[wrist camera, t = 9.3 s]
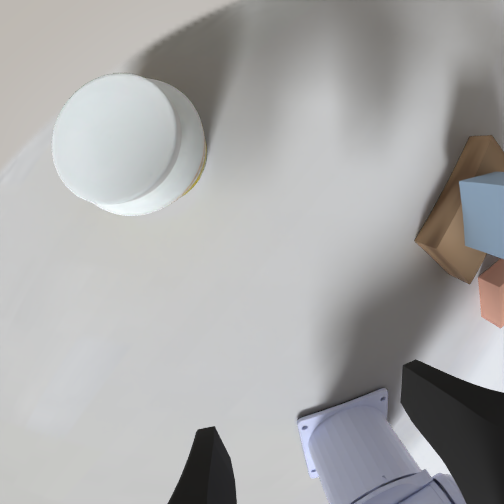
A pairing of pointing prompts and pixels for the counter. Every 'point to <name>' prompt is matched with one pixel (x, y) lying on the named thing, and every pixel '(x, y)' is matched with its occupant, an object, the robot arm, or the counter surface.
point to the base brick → (459, 211)
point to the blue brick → (484, 212)
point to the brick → (493, 293)
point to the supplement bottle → (129, 144)
